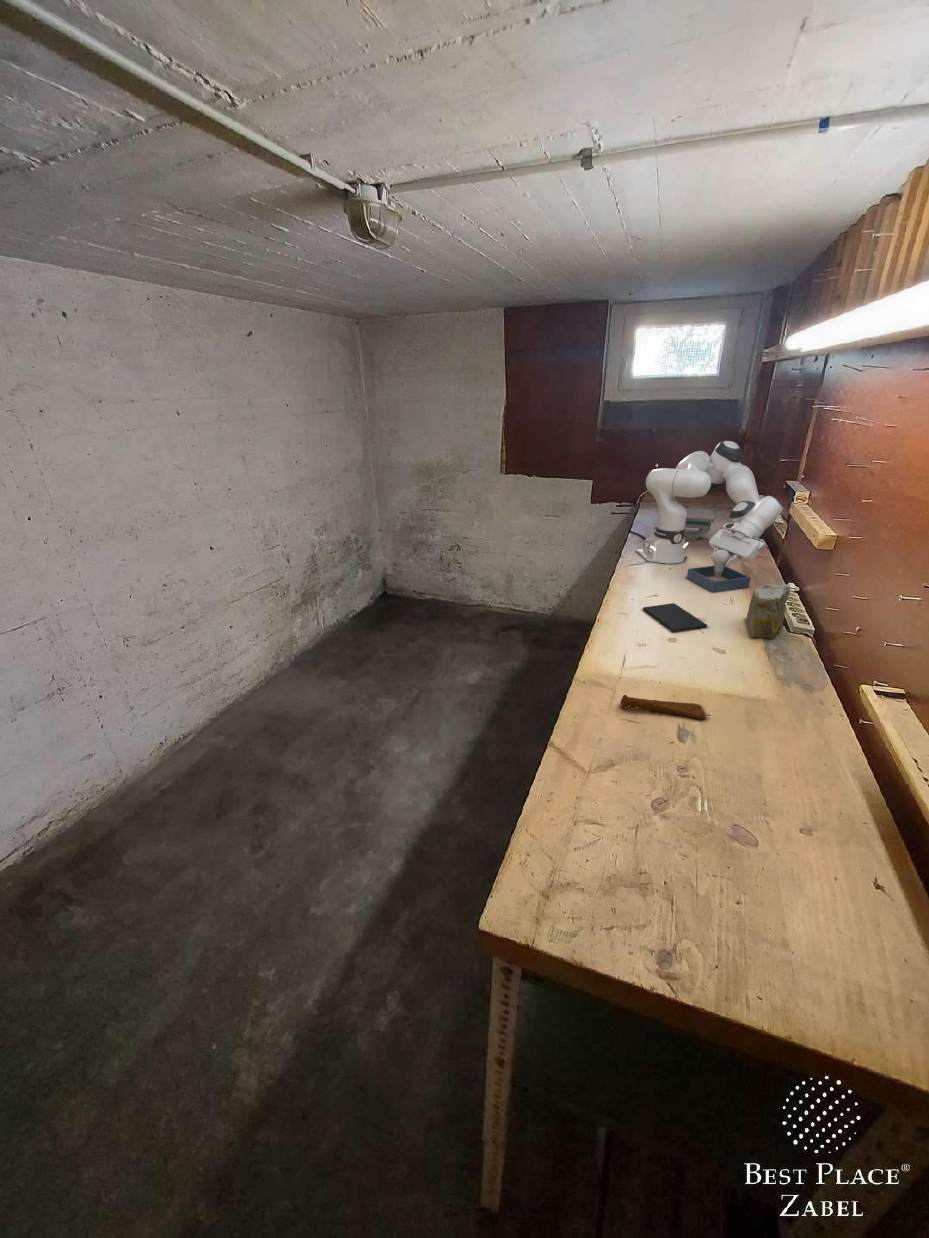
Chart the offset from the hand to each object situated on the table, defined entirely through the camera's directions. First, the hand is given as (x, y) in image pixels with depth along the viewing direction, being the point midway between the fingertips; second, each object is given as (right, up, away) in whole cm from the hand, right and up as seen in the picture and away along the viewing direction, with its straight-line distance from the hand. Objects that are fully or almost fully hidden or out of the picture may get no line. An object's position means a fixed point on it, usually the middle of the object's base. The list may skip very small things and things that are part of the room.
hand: (719, 561), depth 185 cm
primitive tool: (-49, -45, -66) cm, 94 cm away
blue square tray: (+1, -8, +4) cm, 9 cm away
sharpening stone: (+13, +20, +60) cm, 64 cm away
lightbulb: (+1, -6, +3) cm, 7 cm away
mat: (-27, -22, -22) cm, 41 cm away
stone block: (-2, -26, -32) cm, 42 cm away
